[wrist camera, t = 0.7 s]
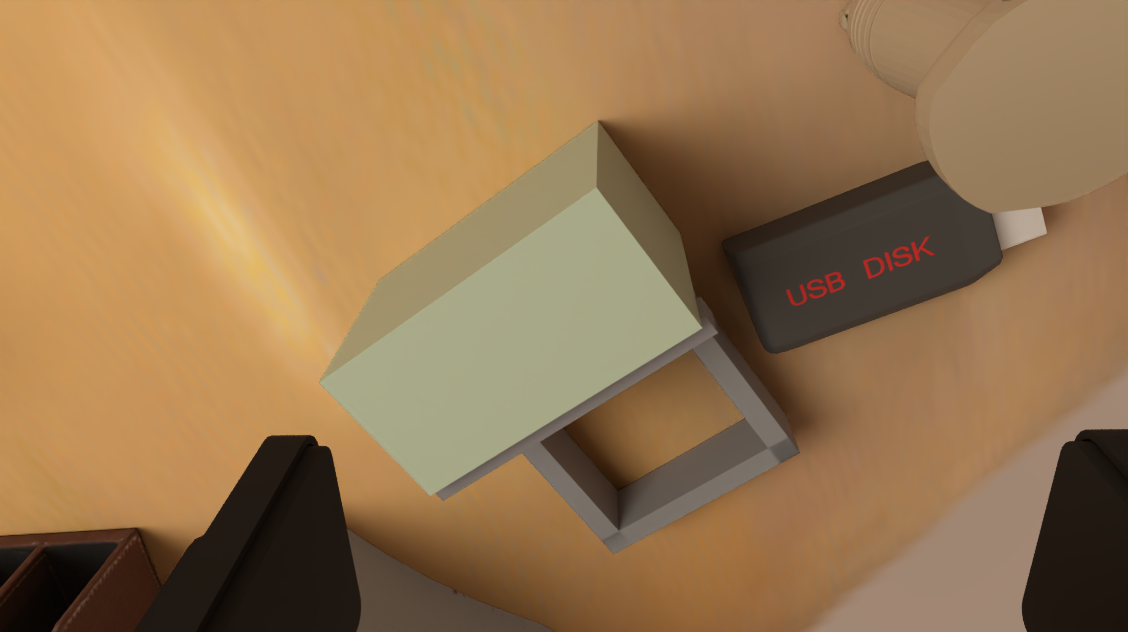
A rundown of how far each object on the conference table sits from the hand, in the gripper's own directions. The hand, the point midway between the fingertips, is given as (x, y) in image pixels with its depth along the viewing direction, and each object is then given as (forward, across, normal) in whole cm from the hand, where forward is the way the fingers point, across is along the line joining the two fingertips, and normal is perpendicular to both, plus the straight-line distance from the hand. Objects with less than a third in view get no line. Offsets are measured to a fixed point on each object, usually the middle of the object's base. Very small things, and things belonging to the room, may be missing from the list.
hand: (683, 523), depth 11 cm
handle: (+26, -9, -3) cm, 28 cm away
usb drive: (+26, -10, +6) cm, 29 cm away
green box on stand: (+25, +2, +11) cm, 28 cm away
